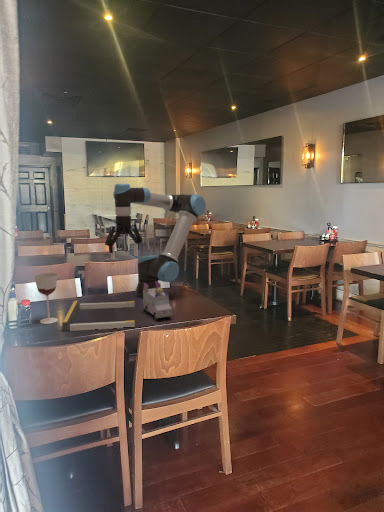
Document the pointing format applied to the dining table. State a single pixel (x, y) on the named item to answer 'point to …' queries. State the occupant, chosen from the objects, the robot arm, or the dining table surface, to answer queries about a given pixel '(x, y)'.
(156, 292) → the toy vehicle
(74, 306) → the dock
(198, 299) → the dining table surface
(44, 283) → the wineglass
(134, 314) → the dining table surface
